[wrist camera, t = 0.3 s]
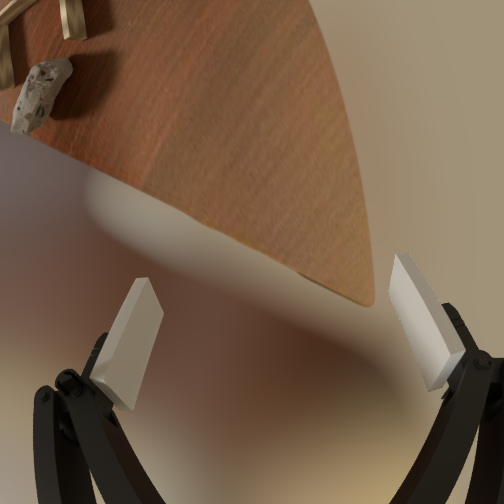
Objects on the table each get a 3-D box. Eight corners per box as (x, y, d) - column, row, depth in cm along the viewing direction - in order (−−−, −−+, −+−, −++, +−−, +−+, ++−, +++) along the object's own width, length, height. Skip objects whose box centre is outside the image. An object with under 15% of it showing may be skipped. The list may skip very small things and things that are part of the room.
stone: (40, 134, 35) (17, 144, 27) (19, 117, 32) (-6, 124, 24) (86, 70, 33) (71, 64, 25) (64, 54, 30) (46, 45, 22)
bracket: (4, 23, 22) (-13, 24, 18) (78, -32, 20) (62, -38, 16) (12, 88, 31) (-6, 92, 27) (87, 38, 28) (69, 36, 24)
